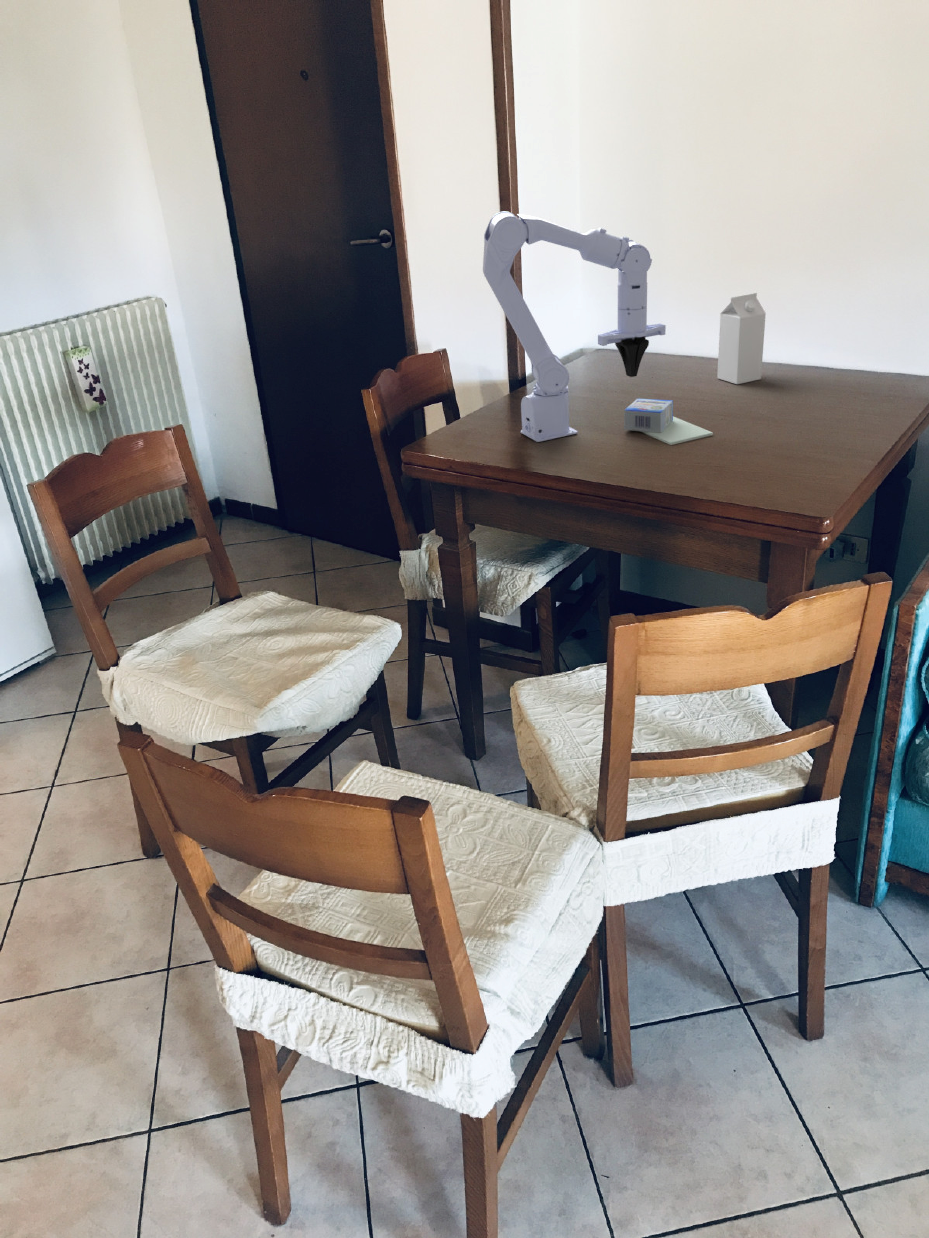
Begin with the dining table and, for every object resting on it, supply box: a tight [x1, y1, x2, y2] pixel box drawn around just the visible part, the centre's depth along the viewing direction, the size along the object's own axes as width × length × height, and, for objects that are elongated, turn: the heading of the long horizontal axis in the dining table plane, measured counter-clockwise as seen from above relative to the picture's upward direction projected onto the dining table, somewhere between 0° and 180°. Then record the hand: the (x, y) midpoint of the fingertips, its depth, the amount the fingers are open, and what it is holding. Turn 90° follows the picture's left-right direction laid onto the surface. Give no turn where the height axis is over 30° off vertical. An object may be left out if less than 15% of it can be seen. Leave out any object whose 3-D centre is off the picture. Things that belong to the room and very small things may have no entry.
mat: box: [640, 415, 714, 446], centre depth 195 cm, size 10×15×1 cm, turn 24°
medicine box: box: [623, 397, 674, 433], centre depth 196 cm, size 8×4×9 cm
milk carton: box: [716, 292, 766, 385], centre depth 219 cm, size 7×7×19 cm
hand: (631, 375), depth 195 cm, fingers closed
